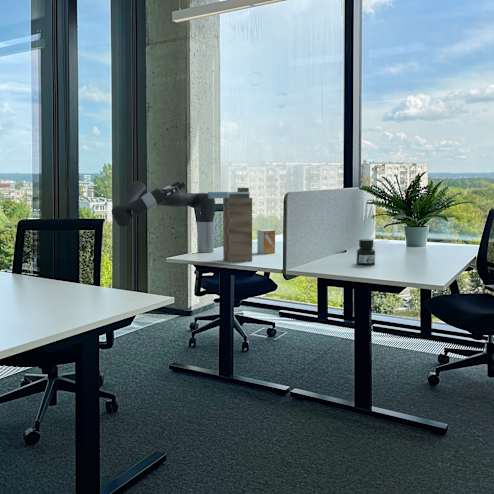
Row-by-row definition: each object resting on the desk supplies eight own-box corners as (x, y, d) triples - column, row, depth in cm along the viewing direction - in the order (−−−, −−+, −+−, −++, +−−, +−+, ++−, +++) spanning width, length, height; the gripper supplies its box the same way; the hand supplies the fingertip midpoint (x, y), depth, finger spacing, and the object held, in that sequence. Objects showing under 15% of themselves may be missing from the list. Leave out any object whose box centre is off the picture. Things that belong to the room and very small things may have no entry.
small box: (263, 254, 300) (263, 230, 298) (257, 253, 305) (257, 230, 303) (275, 253, 304) (275, 230, 302) (268, 251, 309) (268, 229, 308)
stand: (223, 259, 281) (223, 193, 276) (245, 258, 285) (245, 193, 281) (229, 262, 272) (229, 194, 267) (252, 261, 276) (252, 194, 271)
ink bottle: (359, 265, 262) (360, 241, 261) (352, 263, 271) (353, 239, 269) (378, 265, 264) (379, 240, 263) (371, 262, 273) (371, 238, 271)
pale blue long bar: (208, 198, 270) (208, 188, 269) (247, 197, 278) (247, 187, 277) (209, 198, 267) (209, 188, 267) (249, 197, 275) (249, 187, 274)
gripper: (152, 205, 265) (181, 189, 270) (159, 207, 252) (189, 191, 257) (145, 191, 263) (174, 176, 267) (152, 193, 250) (182, 177, 254)
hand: (182, 183), depth 262 cm, fingers open, 8 cm apart
